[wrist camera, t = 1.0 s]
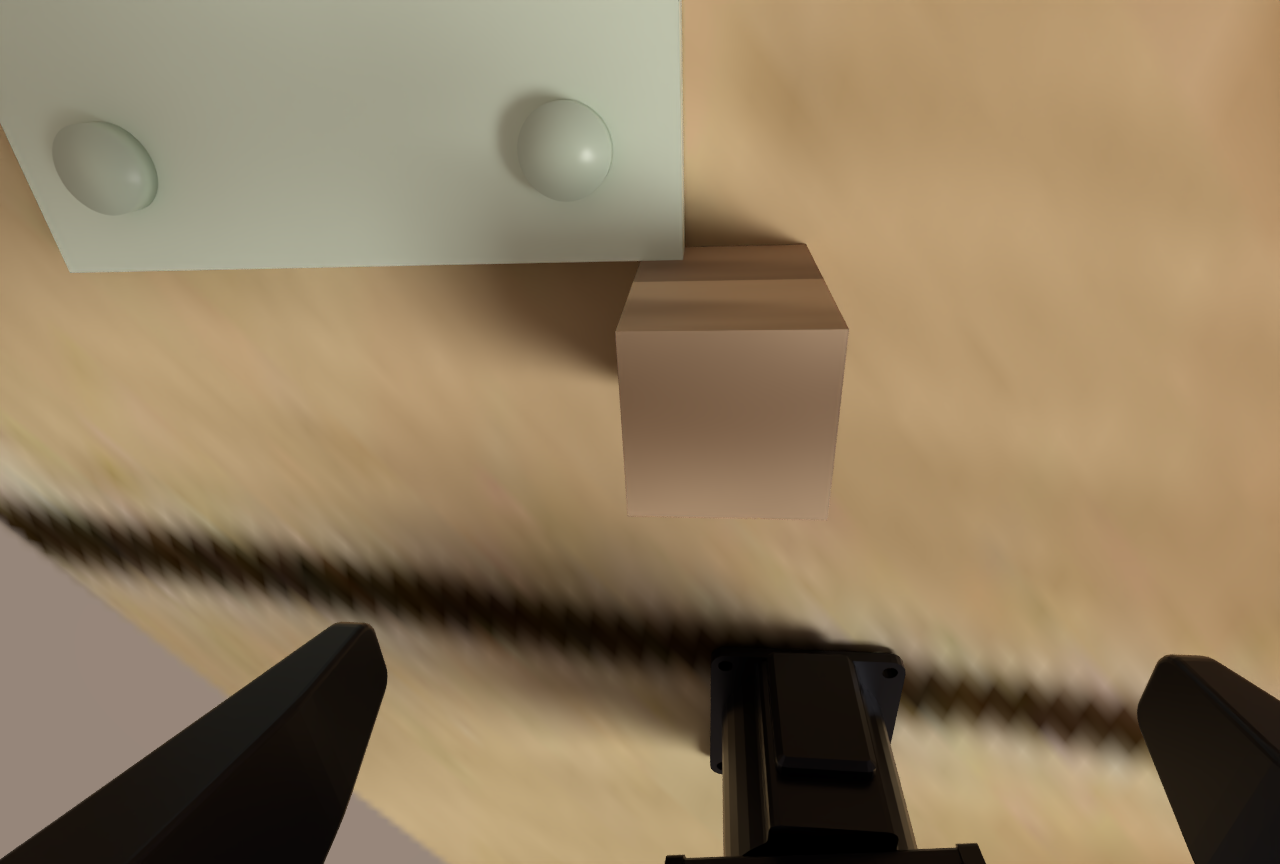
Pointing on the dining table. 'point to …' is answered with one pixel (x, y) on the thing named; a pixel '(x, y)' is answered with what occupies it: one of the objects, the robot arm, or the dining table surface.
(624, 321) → the brown rectangular block
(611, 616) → the dining table surface
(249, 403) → the dining table surface
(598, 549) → the dining table surface
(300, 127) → the baseplate
